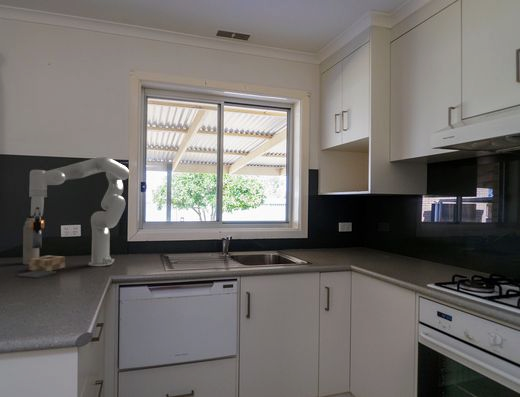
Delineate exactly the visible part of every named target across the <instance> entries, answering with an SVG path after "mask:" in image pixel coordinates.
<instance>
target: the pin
mask: <svg viewBox="0 0 520 397" xmlns="http://www.w3.org/2000/svg"><path fill="white" fill-rule="evenodd" d="M33 222H34V220H30V229H33ZM40 222H41V230H32V248H39V249H42V244H43V243H42V240H43V239H42V238H43V237H42V236H43V233H42V232H43V229H44V228H45V219H41V220H40Z"/></svg>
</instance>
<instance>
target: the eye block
mask: <svg viewBox="0 0 520 397" xmlns="http://www.w3.org/2000/svg"><path fill="white" fill-rule="evenodd" d="M64 268H66V256H63V255H62V256H60V255H43V256H39V257H37V258H32V259H29V264H28V271H35V270H44V271H56V270H59V269H64Z"/></svg>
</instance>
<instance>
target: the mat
mask: <svg viewBox="0 0 520 397" xmlns="http://www.w3.org/2000/svg"><path fill="white" fill-rule="evenodd" d="M54 274H57V271H56V270H52V271H44V270H35V271H33V270H30V271H28V272H24V273H19V274H16V277H19V278H29V279H39V278H42V277H46V276H50V275H54Z"/></svg>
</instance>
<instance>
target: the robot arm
mask: <svg viewBox="0 0 520 397" xmlns="http://www.w3.org/2000/svg"><path fill="white" fill-rule="evenodd" d="M103 172H104V173H105V177H106V178H107V181H108V188H107V190H106V192H105V194H104V196H103V198H102V200H101V203H100V207H101V208H102V209H103V210H105V211H103V210H101V211H95V212H93V213H92V215H91V217H90V226H91V231H92V232H91V261H89V262H88V266H90V267H105V266H110V265H113V263H114V262H115V258H112V257H111V256H110V249H111V248H110V240H111V239H110V238H111V234H110V229H112V228H115V227H116V226H117V225H118V223H119V221H120V219H121V218H122V215H123V213H124V211H125V209H126V199H125V198H124V197H123V196H122V194H123V192H124V183H123V181H125V180H127V179H129V177H130V170H129V169H128V167H126V165H123V164H121V162H120V163H119V162H118V161H116V160H114V159H112V158H110V157H108V156H107V157H106V156H102V157H99V156H98V157H94V158H91V159H87V160H84V161H80V162H76V163H72V164H68V165H66V166H62V167H58V168H57V167H56V168H54V169H50V170H45V169H44V170H43V169H32V170H30V171H29V191H28V192H29V198H30V197H31V200H30V216H34V222H33V230H41V222H40V220H42V217H43V214H44V205H45V198H48V191H47V190H48V186H60V185H62V184H63V183H64V182H65V181H68V180H77V179H81V178H86V177H88V176H91V175H95V174H99V173H103Z"/></svg>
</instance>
